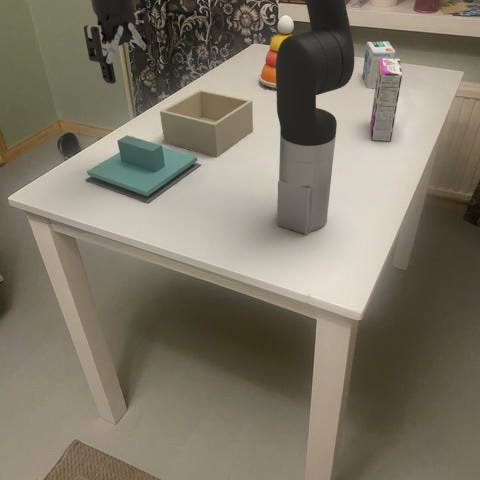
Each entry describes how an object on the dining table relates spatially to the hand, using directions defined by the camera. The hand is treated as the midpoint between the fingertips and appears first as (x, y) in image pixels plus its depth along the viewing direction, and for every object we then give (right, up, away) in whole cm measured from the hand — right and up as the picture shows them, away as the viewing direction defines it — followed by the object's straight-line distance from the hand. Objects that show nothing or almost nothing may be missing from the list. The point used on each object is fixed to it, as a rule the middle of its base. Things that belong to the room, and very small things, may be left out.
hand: (126, 76), depth 91 cm
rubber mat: (+1, -17, +13) cm, 22 cm away
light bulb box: (+64, +17, +54) cm, 85 cm away
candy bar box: (+57, -5, +26) cm, 63 cm away
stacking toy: (+35, +17, +56) cm, 68 cm away
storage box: (+14, -6, +27) cm, 31 cm away
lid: (+1, -16, +13) cm, 20 cm away
